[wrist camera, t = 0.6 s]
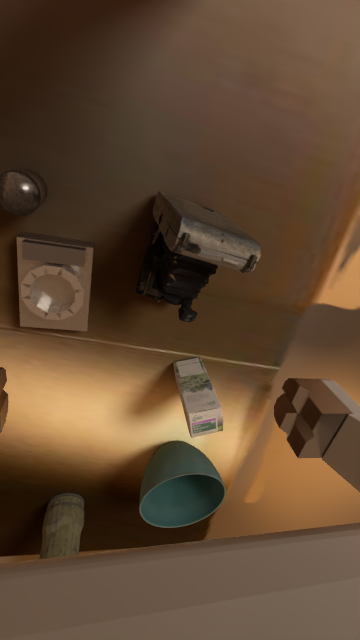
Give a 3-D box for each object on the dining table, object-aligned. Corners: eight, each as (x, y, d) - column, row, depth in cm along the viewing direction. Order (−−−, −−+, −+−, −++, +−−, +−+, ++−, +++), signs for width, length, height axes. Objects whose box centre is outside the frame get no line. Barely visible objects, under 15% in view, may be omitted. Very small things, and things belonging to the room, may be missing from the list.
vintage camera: (128, 281, 50) (138, 354, 34) (156, 186, 44) (184, 219, 27) (182, 294, 54) (214, 366, 37) (215, 207, 47) (273, 248, 30)
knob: (8, 164, 39) (-8, 166, 34) (48, 172, 40) (39, 175, 35) (9, 203, 41) (-5, 211, 36) (48, 210, 43) (39, 218, 38)
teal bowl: (144, 424, 67) (149, 475, 56) (219, 426, 72) (237, 473, 61) (129, 476, 74) (132, 530, 64) (198, 475, 80) (211, 525, 69)
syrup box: (175, 383, 63) (191, 440, 50) (172, 360, 60) (187, 415, 47) (202, 377, 63) (224, 432, 51) (200, 354, 60) (223, 407, 48)
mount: (22, 231, 43) (12, 240, 39) (94, 242, 46) (92, 251, 42) (25, 317, 50) (16, 333, 45) (88, 322, 52) (86, 337, 48)
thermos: (43, 517, 76) (-3, 758, 46) (51, 488, 71) (6, 734, 41) (79, 518, 79) (58, 744, 49) (90, 489, 74) (74, 721, 44)
